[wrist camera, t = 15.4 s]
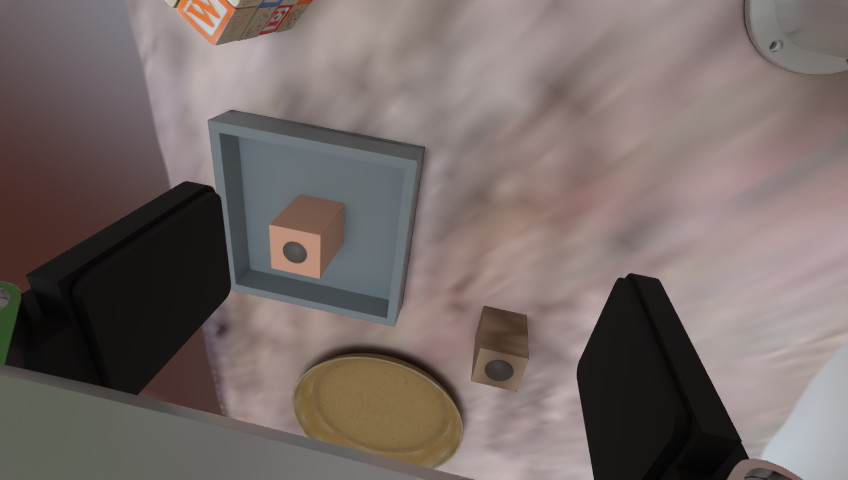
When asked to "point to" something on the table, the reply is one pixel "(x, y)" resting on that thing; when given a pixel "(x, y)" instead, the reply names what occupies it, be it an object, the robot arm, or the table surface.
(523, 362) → the walnut block
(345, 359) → the plant saucer
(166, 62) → the table surface
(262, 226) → the tray
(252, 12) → the stack of blocks
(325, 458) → the robot arm
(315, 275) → the terracotta block
